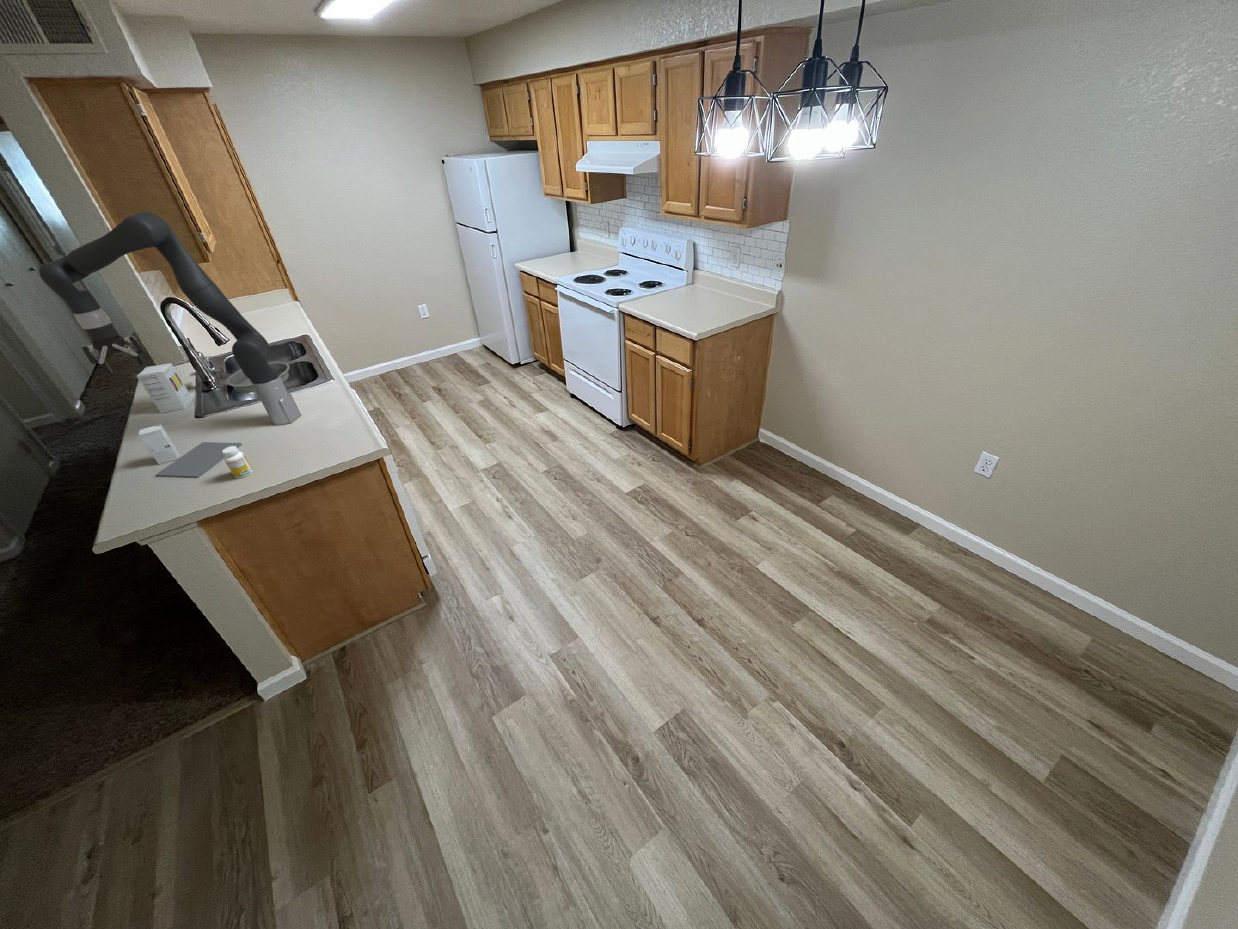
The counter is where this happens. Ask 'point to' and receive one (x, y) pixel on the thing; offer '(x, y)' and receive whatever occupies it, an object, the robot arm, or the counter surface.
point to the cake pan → (244, 383)
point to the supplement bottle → (237, 462)
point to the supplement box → (165, 387)
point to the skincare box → (159, 444)
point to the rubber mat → (197, 460)
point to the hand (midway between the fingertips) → (126, 369)
